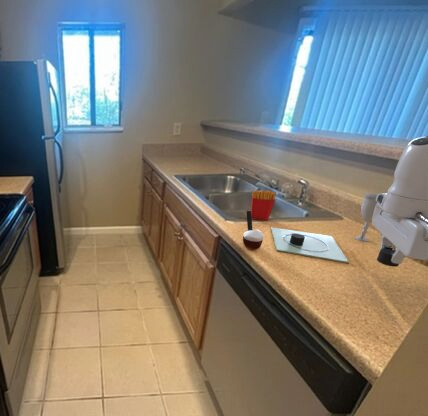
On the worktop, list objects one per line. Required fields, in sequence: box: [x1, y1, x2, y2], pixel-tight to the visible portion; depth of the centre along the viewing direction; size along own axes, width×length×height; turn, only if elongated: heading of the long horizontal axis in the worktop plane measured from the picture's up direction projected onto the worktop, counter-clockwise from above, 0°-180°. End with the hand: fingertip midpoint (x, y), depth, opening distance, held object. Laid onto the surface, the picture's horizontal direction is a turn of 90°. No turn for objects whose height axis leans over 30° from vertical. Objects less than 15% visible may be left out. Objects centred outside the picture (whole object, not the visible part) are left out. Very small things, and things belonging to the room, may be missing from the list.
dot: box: [376, 248, 400, 267], centre depth 70 cm, size 4×4×3 cm
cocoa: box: [242, 210, 265, 250], centre depth 97 cm, size 10×6×12 cm, turn 160°
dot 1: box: [290, 233, 305, 246], centre depth 99 cm, size 4×4×3 cm
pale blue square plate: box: [270, 226, 350, 264], centre depth 100 cm, size 20×20×1 cm
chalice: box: [354, 193, 379, 242], centre depth 96 cm, size 7×7×18 cm
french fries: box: [250, 189, 277, 221], centre depth 120 cm, size 9×4×13 cm, turn 72°
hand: (389, 256), depth 70 cm, fingers closed on dot, 4 cm apart
